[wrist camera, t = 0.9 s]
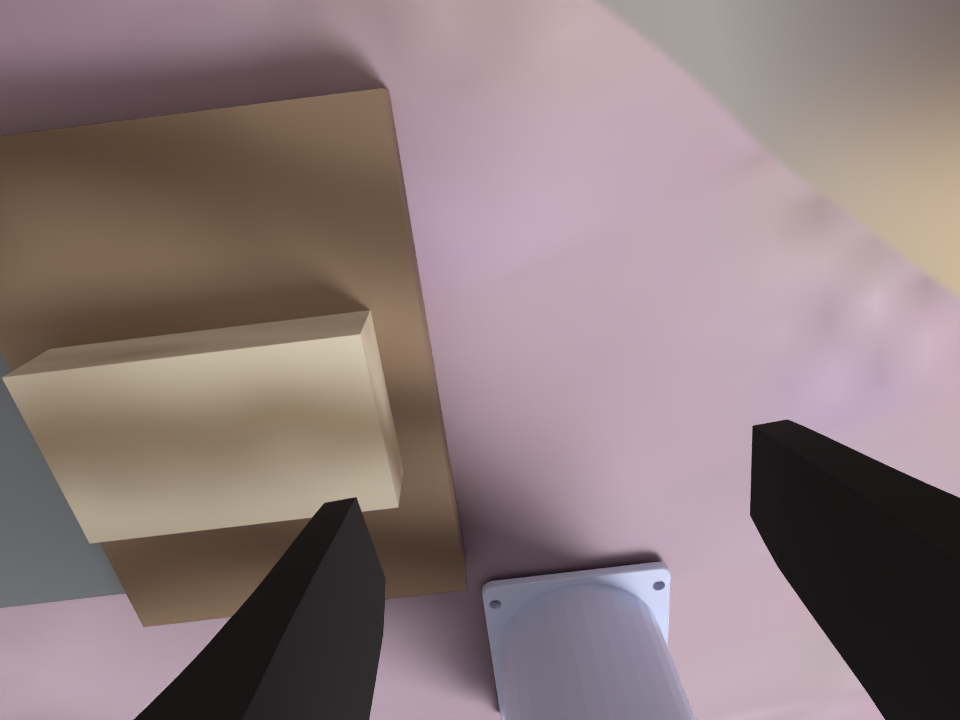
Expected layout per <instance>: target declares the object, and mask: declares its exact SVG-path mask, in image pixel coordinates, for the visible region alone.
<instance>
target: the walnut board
mask: <svg viewBox="0 0 960 720" xmlns="http://www.w3.org/2000/svg"><path fill="white" fill-rule="evenodd" d="M367 310H370V311H371V316H372V320H373V325H374V330H375V335H376V340H377V344H378V349H379V354H380V359H381V364H382V369H383V373H384V378H385V383H386V388H387V393H388V398H389V402H390V407H391V412H392V417H393V422H394V426H395V431H396V436H397V441H398V446H399V451H400V455H401V460H402V465H403V470H404V471H403V478H402V485H401V492H400V499H399V505H398V508H389V509H381V510H372V511H364V512H362V514H363V517H364V519H365V522H366V525H367V528H368V531H369V533H370V536H371V539H372V542H373V545H374V547H375V550H376V553H377V556H378V559H379V561H380V564H381V567H382V570H383V573H384V575H385V578H386V579H385V599H391V598H400V597H408V596H417V595H426V594H434V593H443V592H452V591H460V590H467V579H466V558H465V552H464V546H463V540H462V533H461V527H460V521H459V515H458V509H457V503H456V497H455V491H454V485H453V479H452V472H451V466H450V460H449V454H448V448H447V442H446V436H445V430H444V424H443V418H442V411H441V405H440V399H439V393H438V387H437V381H436V375H435V369H434V363H433V357H432V350H431V344H430V338H429V332H428V326H427V320H426V314H425V308H424V302H423V296H422V289H421V283H420V277H419V271H418V265H417V259H416V253H415V247H414V241H413V235H412V228H411V222H410V216H409V210H408V204H407V198H406V192H405V186H404V180H403V174H402V167H401V161H400V155H399V149H398V143H397V137H396V131H395V125H394V119H393V112H392V106H391V100H390V94H389V90H388V89H385V88H378V89H370V90H362V91H354V92H346V93H338V94H330V95H322V96H314V97H306V98H298V99H290V100H282V101H274V102H267V103H259V104H251V105H243V106H235V107H227V108H219V109H211V110H203V111H195V112H187V113H179V114H171V115H163V116H155V117H147V118H139V119H131V120H123V121H115V122H107V123H99V124H91V125H83V126H75V127H67V128H59V129H51V130H43V131H35V132H27V133H19V134H11V135H4V136H0V351H1V353H2V355H3V357H4V359H5V361H6V363H7V365H8V367H9V369H10V371H11V372H12V371H14V370H15V369H17V368H19V367H20V366H22V365H24V364H25V363H27V362H29V361H30V360H32V359H34V358H36V357H37V356H39V355H41V354H42V353H44V352H46V351H47V350H49V349H53V348H62V347H70V346H78V345H86V344H95V343H103V342H111V341H119V340H128V339H136V338H144V337H152V336H161V335H169V334H177V333H185V332H194V331H202V330H210V329H218V328H227V327H235V326H243V325H252V324H260V323H268V322H276V321H285V320H293V319H301V318H309V317H318V316H326V315H334V314H342V313H351V312H359V311H367ZM310 520H311V518H304V519H295V520H287V521H278V522H270V523H261V524H253V525H244V526H236V527H227V528H219V529H210V530H202V531H193V532H184V533H176V534H167V535H159V536H150V537H142V538H133V539H125V540H116V541H108V542H100V544H101V546H102V548H103V550H104V552H105V553H106V555H107V557H108V559H109V561H110V563H111V565H112V567H113V569H114V571H115V573H116V575H117V577H118V579H119V580H120V582H121V584H122V586H123V588H124V590H125V592H126V594H127V596H128V598H129V600H130V602H131V604H132V605H133V607H134V609H135V611H136V613H137V615H138V617H139V619H140V621H141V623H142V625H143V627H148V626H157V625H165V624H174V623H183V622H191V621H200V620H209V619H217V618H226V617H232V616H233V615H234V614H235V613H236V611H237V610H238V609H239V608H240V607H241V606H242V605H243V603H244V602H245V601H246V600H247V599H248V598H249V597H250V595H251V594H252V593H253V592H254V591H255V589H256V588H257V587H258V586H259V584H260V583H261V582H262V581H263V579H264V578H265V577H266V576H267V574H268V573H269V572H270V571H271V569H272V568H273V567H274V566H275V564H276V563H277V562H278V561H279V559H280V558H281V557H282V556H283V554H284V553H285V552H286V551H287V549H288V548H289V547H290V545H291V544H292V543H293V542H294V540H295V539H296V538H297V536H298V535H299V534H300V533H301V531H302V530H303V529H304V527H305V526H306V525H307V523H308V522H309V521H310Z"/></svg>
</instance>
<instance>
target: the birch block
mask: <svg viewBox="0 0 960 720" xmlns="http://www.w3.org/2000/svg"><path fill="white" fill-rule="evenodd" d="M2 379H3V381H4V383H5V385H6V386H7V388H8V390H9V392H10V394H11V396H12V398H13V400H14V402H15V403H16V405H17V407H18V409H19V411H20V413H21V415H22V417H23V419H24V420H25V422H26V424H27V426H28V428H29V430H30V432H31V434H32V436H33V437H34V439H35V441H36V443H37V445H38V447H39V449H40V451H41V453H42V454H43V456H44V458H45V460H46V462H47V464H48V466H49V468H50V469H51V471H52V473H53V475H54V477H55V479H56V481H57V483H58V485H59V486H60V488H61V490H62V492H63V494H64V496H65V498H66V500H67V502H68V503H69V505H70V507H71V509H72V511H73V513H74V515H75V517H76V519H77V520H78V522H79V524H80V526H81V528H82V530H83V532H84V534H85V536H86V537H87V539H88V541H89V543H90V544H91V543H99V542H108V541H116V540H125V539H133V538H142V537H150V536H159V535H167V534H176V533H184V532H193V531H202V530H210V529H219V528H227V527H236V526H244V525H253V524H261V523H270V522H278V521H287V520H295V519H304V518H312V517H313V516H314V515H315V513H316V512H317V511H318V510H319V508H320V507H321V506H322V505H323V504H324V503H326V502H332V501H337V500H343V499H348V498H354V497H357V500H358V503H359V505H360V508H361V511H362V512H364V511H372V510H381V509H389V508H398V505H399V499H400V492H401V485H402V478H403V471H404V470H403V465H402V460H401V455H400V451H399V446H398V441H397V436H396V431H395V426H394V422H393V417H392V412H391V407H390V402H389V398H388V393H387V388H386V383H385V378H384V373H383V369H382V364H381V359H380V354H379V349H378V344H377V340H376V335H375V330H374V325H373V320H372V316H371V311H370V310H367V311H359V312H351V313H342V314H334V315H326V316H318V317H309V318H301V319H293V320H285V321H276V322H268V323H260V324H252V325H243V326H235V327H227V328H218V329H210V330H202V331H194V332H185V333H177V334H169V335H161V336H152V337H144V338H136V339H128V340H119V341H111V342H103V343H95V344H86V345H78V346H70V347H62V348H53V349H49V350H47V351H46V352H44V353H42V354H41V355H39V356H37V357H36V358H34V359H32V360H30V361H29V362H27V363H25V364H24V365H22V366H20V367H19V368H17V369H15V370H14V371H12V372H10V373H9V374H7V375H5V376H4V377H2Z"/></svg>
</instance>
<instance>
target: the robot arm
mask: <svg viewBox="0 0 960 720" xmlns="http://www.w3.org/2000/svg"><path fill="white" fill-rule="evenodd" d="M750 516H751V518H752V520H753V522H754V524H755V526H756V527H757V529H758V531H759V533H760V535H761V537H762V539H763V541H764V543H765V545H766V546H767V548H768V550H769V552H770V554H771V555H772V557H773V559H774V561H775V562H776V564H777V566H778V568H779V569H780V570H781V572H782V573H783V575H784V576H785V578H786V579H787V581H788V582H789V583H790V585H791V586H792V588H793V589H794V591H795V592H796V593H797V595H798V596H799V598H800V599H801V600H802V602H803V603H804V605H805V606H806V608H807V609H808V610H809V612H810V613H811V615H812V616H813V617H814V619H815V620H816V621H817V623H818V624H819V626H820V627H821V628H822V630H823V631H824V633H825V634H826V635H827V637H828V638H829V640H830V641H831V642H832V644H833V645H834V647H835V648H836V649H837V651H838V652H839V654H840V655H841V656H842V658H843V659H844V660H845V662H846V663H847V665H848V666H849V667H850V669H851V670H852V672H853V673H854V674H855V676H856V677H857V679H858V680H859V681H860V683H861V684H862V686H863V687H864V688H865V690H866V691H867V693H868V694H869V696H870V697H871V699H872V700H873V702H874V703H875V705H876V706H877V708H878V709H879V711H880V712H881V714H882V715H883V717H884V718H885V720H960V498H959V497H957V496H954V495H952V494H950V493H947V492H945V491H943V490H940V489H938V488H936V487H934V486H931V485H929V484H927V483H924V482H922V481H920V480H918V479H916V478H913V477H911V476H909V475H907V474H905V473H902V472H900V471H898V470H896V469H894V468H892V467H889V466H887V465H885V464H883V463H881V462H879V461H877V460H874V459H872V458H870V457H868V456H866V455H864V454H862V453H860V452H857V451H855V450H853V449H851V448H849V447H847V446H845V445H843V444H841V443H839V442H836V441H834V440H832V439H830V438H828V437H826V436H824V435H822V434H819V433H817V432H815V431H813V430H811V429H809V428H806V427H804V426H802V425H799V424H797V423H795V422H792V421H790V420H782V421H777V422H771V423H766V424H760V425H754V426H753V431H752V467H751V502H750ZM670 578H671V574H670V571H669V569H668V566H667V565H666V564H665V563H662V562H652V563H643V564H635V565H626V566H617V567H609V568H600V569H591V570H583V571H574V572H565V573H557V574H548V575H540V576H531V577H522V578H514V579H505V580H496V581H490V582H488V583H486V584H485V585H484V586H483V588H482V597H483V604H484V610H485V617H486V623H487V630H488V636H489V643H490V649H491V656H492V662H493V669H494V676H495V682H496V689H497V695H498V702H499V708H500V715H501V720H696V718H695V715H694V712H693V710H692V707H691V705H690V702H689V700H688V697H687V695H686V692H685V690H684V687H683V684H682V682H681V679H680V677H679V674H678V672H677V669H676V667H675V664H674V662H673V659H672V656H671V654H670V651H669V649H668V627H669V602H670ZM385 579H386V578H385V575H384V573H383V570H382V567H381V564H380V561H379V559H378V556H377V553H376V550H375V547H374V545H373V542H372V539H371V536H370V533H369V531H368V528H367V525H366V522H365V519H364V517H363V514H362V511H361V508H360V505H359V503H358V500H357V497H354V498H348V499H343V500H337V501H332V502H326V503H324V504H323V505H322V506H321V507H320V508H319V510H318V511H317V512H316V513H315V515H314V516H313V517H312V518H311V520H310V521H309V522H308V523H307V525H306V526H305V527H304V529H303V530H302V531H301V533H300V534H299V535H298V536H297V538H296V539H295V540H294V542H293V543H292V544H291V545H290V547H289V548H288V549H287V551H286V552H285V553H284V554H283V556H282V557H281V558H280V559H279V561H278V562H277V563H276V564H275V566H274V567H273V568H272V569H271V571H270V572H269V573H268V574H267V576H266V577H265V578H264V579H263V581H262V582H261V583H260V584H259V586H258V587H257V588H256V589H255V591H254V592H253V593H252V594H251V595H250V597H249V598H248V599H247V600H246V601H245V602H244V603H243V605H242V606H241V607H240V608H239V609H238V610H237V611H236V613H235V614H234V615H233V616H232V617H231V618H230V619H229V621H228V622H227V623H226V624H225V625H224V626H223V628H222V629H221V630H220V631H219V632H218V633H217V634H216V636H215V637H214V638H213V639H212V640H211V641H210V642H209V644H208V645H207V646H206V647H205V648H204V649H203V650H202V651H201V652H200V653H199V655H198V656H197V657H196V658H195V659H194V660H193V661H192V662H191V663H190V664H189V665H188V666H187V667H186V668H185V669H184V670H183V671H182V672H181V673H180V675H179V676H178V677H177V678H176V679H175V680H174V681H173V682H172V683H171V684H170V685H169V686H168V687H167V688H166V689H165V690H164V691H162V692H161V693H160V694H159V695H158V696H157V697H156V698H155V699H154V700H153V701H152V702H151V703H150V704H149V705H148V706H147V707H146V708H145V709H144V710H143V711H142V712H141V713H140V714H139V715H138V716H137V717H136V718H135V719H134V720H369V717H370V711H371V705H372V699H373V693H374V687H375V681H376V675H377V669H378V663H379V657H380V650H381V644H382V637H383V627H384V609H385ZM658 581H660V582H658ZM655 582H658V583H655ZM493 600H498V601H496V602H494V601H493Z"/></svg>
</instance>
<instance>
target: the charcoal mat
mask: <svg viewBox="0 0 960 720" xmlns="http://www.w3.org/2000/svg"><path fill="white" fill-rule="evenodd" d="M10 372H11V371H10V369H9V367H8V365H7V363H6V361H5V359H4V357H3V355H2V353H1V351H0V608H3V607H12V606H20V605H29V604H37V603H46V602H55V601H63V600H72V599H80V598H89V597H98V596H106V595H115V594H124V593H126V592H125V590H124V588H123V586H122V584H121V582H120V580H119V579H118V577H117V575H116V573H115V571H114V569H113V567H112V565H111V563H110V561H109V559H108V557H107V555H106V553H105V552H104V550H103V548H102V546H101V544H100V542H99V543H91V544H90V543H89V541H88V539H87V537H86V536H85V534H84V532H83V530H82V528H81V526H80V524H79V522H78V520H77V519H76V517H75V515H74V513H73V511H72V509H71V507H70V505H69V503H68V502H67V500H66V498H65V496H64V494H63V492H62V490H61V488H60V486H59V485H58V483H57V481H56V479H55V477H54V475H53V473H52V471H51V469H50V468H49V466H48V464H47V462H46V460H45V458H44V456H43V454H42V453H41V451H40V449H39V447H38V445H37V443H36V441H35V439H34V437H33V436H32V434H31V432H30V430H29V428H28V426H27V424H26V422H25V420H24V419H23V417H22V415H21V413H20V411H19V409H18V407H17V405H16V403H15V402H14V400H13V398H12V396H11V394H10V392H9V390H8V388H7V386H6V385H5V383H4V381H3V379H2V377H4V376H5V375H7V374H9V373H10Z"/></svg>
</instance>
